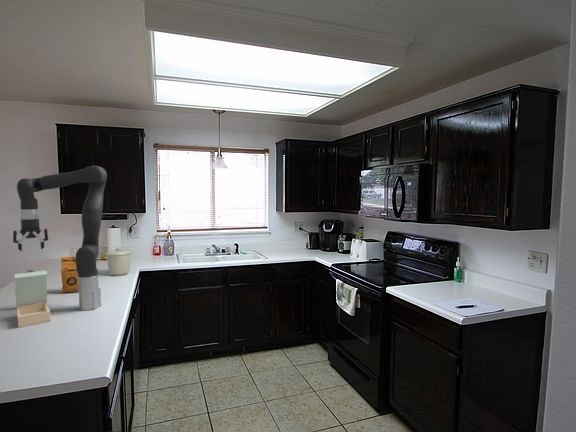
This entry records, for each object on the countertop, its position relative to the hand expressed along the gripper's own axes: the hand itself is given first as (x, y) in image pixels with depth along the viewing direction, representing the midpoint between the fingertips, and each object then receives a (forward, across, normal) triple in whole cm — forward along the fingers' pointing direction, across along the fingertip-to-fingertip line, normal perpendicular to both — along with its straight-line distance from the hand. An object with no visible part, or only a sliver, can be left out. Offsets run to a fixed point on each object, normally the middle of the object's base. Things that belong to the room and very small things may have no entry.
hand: (31, 250), depth 176 cm
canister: (+32, -56, -61) cm, 89 cm away
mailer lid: (+19, +1, +10) cm, 22 cm away
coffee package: (+32, -22, -30) cm, 49 cm away
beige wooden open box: (+32, +1, +13) cm, 35 cm away
